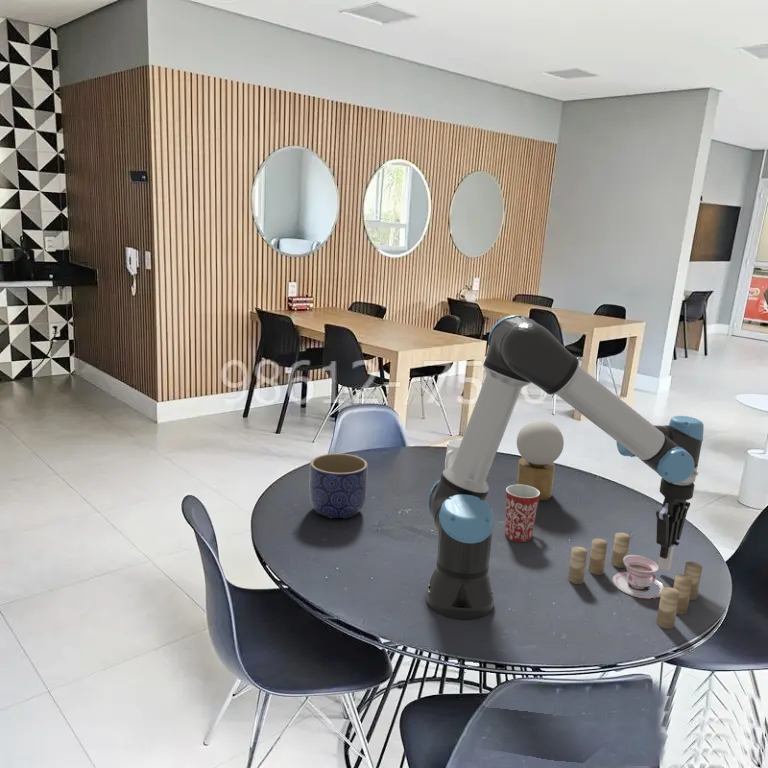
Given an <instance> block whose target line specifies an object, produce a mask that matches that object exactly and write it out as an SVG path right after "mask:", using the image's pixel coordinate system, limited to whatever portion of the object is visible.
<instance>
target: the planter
mask: <svg viewBox="0 0 768 768" xmlns="http://www.w3.org/2000/svg"><path fill="white" fill-rule="evenodd" d="M368 467H369V464H368V462H367V461H366V460H365V459H364V458H362V457H360V456H357V455H353V454H349V453H348V454H347V453H326V454H322V455H317V456H315V457H314V458H312V459H311V460H310V463H309V477H308V478H309V479H308V480H309V482H308V487H309V488H308V489H309V500H310V504H311V506H312V508H313V509H314V511H315V512H316V513H317V514H319V515H320V514H321V516H322V515H323V516H322V517H324V516H326V517H325V518H327V517H331V518H330V519H333V518H344V519H348V518H347V517H349V518H351V516H352V517H354V516H356V515H357V514H358V513H359V512H360V511H361V510H362V509H363V507H364V505H365V503H366V499H367V498H366V497H367V489H368V488H367V487H368V475H369V474H368V473H369V472H368V471H369V469H368Z"/></svg>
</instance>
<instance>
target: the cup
mask: <svg viewBox="0 0 768 768" xmlns="http://www.w3.org/2000/svg"><path fill="white" fill-rule="evenodd" d="M461 441H462V439H451V440H448V441H447V442H446V455H445V458H444V459H445V460H444V470H445V469H447V468H450V467H452V465H453V462H454V459H455V457H456V454H457V452H458V449H459V446H460V444H461Z"/></svg>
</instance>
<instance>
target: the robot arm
mask: <svg viewBox="0 0 768 768" xmlns="http://www.w3.org/2000/svg"><path fill="white" fill-rule="evenodd" d="M482 366H483V369H484V371H485V374H486V375H485V378H484V380H483V382H482V386H481V388H480V391H479V393H478V396H477V399H476V401H475V404H474V407H473V410H472V412H471V415H470V418H469V420H468V423H467V426H466V428H465V431H464V432H463V433H464V434H463V436H462V438H461V440H462V441H461V444H460V446H459V449H458V452H457V454H456V457H455V459H454V462H453V465H452V467H450V468H447V469H445V468H444V469H443V471H442V473H441V475H440V479H438V480H437V481H436V482H435V483H434V484H433V486H432V487H431V490H430V491H429V496H428V508H429V512H430V515H431V517H432V520H433V523H434V526H435V531H436V533H437V552H436V553H437V554H436V564H435V565H436V566H435V569H434V571H433V573H432V575H431V577H430V580H429V582H428V584H427V586H426V597H425V598H426V599H425V600H426V602H427V604H428V606H429V607H430V608H431V609H432V610H434V611H435V612H436V613H439V614H441V615H443V616H446V617H448V618H453V619H459V620H472V619H479V618H483V617H484V616H487V615H488V614H489V613H491V611H492V609H493V607H494V601H495V599H494V598H495V595H494V590H493V588H492V586H491V579H490V574H489V569H490V558H491V557H490V556H491V551H492V550H491V547H492V538H493V530H494V527H495V526H494V523H495V522H494V521H495V520H494V511H493V509H492V507H491V505H490V504H489V503H488V502H487V501H486V499H487V496H488V493H489V491H490V487H489V484H488V482H487V478H488V476H489V472H490V470H491V469H492V465H493V463H494V460H495V457H496V455H497V451H498V449H499V447H500V445H501V443H502V440H503V437H504V434H505V433H506V432H505V431H506V429H507V427H508V424H509V423H510V422H509V421H510V419H511V416H512V415H513V411H514V409H515V406H516V404H517V401H518V399H519V396H520V394H521V391H522V388H523V387H525V386H528V385H531V384H533V385H535V386H536V387H538V388H539V389H541V390H542V391H544V393H546V394H548V395H549V396H553V395H556V396H558V397H559V398H561V400H563V401H564V402H565V403H567V404H568V405H569V406H571V407H572V408H573V409H574V410H576V411H577V412H578V413H580V414H581V415H582V416H584V417H585V418H586V419H587V420H589V421H590V422H591V423H593V424H594V425H595V426H596V427H598V428H599V429H600V430H601V431H602V432H604V433H606V434H607V435H608V436H610V438H612V439H613V440H615V441H616V442H615V443H616V448H617V451H618V452H619V454H620V455H621V456H624V457H630V458H634V457H636V458H638V459H639V460H640V461H641V462H642V463H644V464H645V465H647V466H648V467H649V468H650V469H652V470H653V471H654V472H655V473H656V474H658V475H659V476H660V478H661V479H660V484H659V492H660V494H661V495H662V496H663V497H664V499H663V502H662V506H661V507H662V509H661V510H656V512H655V517H656V539H655V540H656V544H657V545H660V547H659V552H658V554H659V555H658V559H657V565H658V567H659V569H661V570H662V571H663V570H664V571H666V572H668V571H670V570H671V568H672V563H673V556H674V551H675V550H674V548H675V546H677V547H678V546H679V545H680V542H678V541H680V539H681V536H682V532H683V528H684V525H685V521H686V517H687V514H688V511H689V509H690V506H691V502H689V500H691V499H692V498H694V497H693V496H694V490H695V487H696V486H695V482H696V479H697V476H699V472H698V465H699V460H700V455H701V450H702V443H703V441H704V428H705V427H704V422H703V421H701V420H700V419H698V418H695V417H692V416H686V415H685V416H684V415H677V416H676V415H675V416H672V417H671V418H670V421H669V423H668V424H667V425H654V424H652V423H651V422H649V420H647V419H646V418H645V417H644V416H642V415H641V414H640V413H638V412H637V411H636V410H635V409H633V408H632V407H631V406H630V405H629V404H627V403H626V402H625V401H623V400H622V399H621V398H620V397H618V396H617V395H616V394H615V393H613V392H612V391H611V390H610V389H608V387H606V386H605V385H603V383H601V382H600V381H599V380H597V379H596V378H595V377H594V376H592V375H591V374H590V373H588V372H587V371H586V370H585V369H583V368H582V367H581V366H580V359H579V358H578V357H576V356H575V355H573V354H572V353H571V352H570V351H569V350H568V349H567V348H566V347H565V346H564V345H563V344H562V343H561V342H560V341H559V340H558V339H557V338H556V337H555V335H554V334H553V333H551V331H549V330H548V329H547V328H546V327H544V326H543V325H541V324H539V323H537V321H535V320H534V319H532V318H529V317H528V316H523V315H519V314H517V315H516V314H514V315H513V314H511V315H508V316H506V317H503V318H500V319H499V320H498V321H496V323H495V324H494V325H493V326H492V328H491V330H490V332H489V335H488V351H487V353H486V357H485V359H484V362H483V365H482Z"/></svg>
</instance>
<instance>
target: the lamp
mask: <svg viewBox="0 0 768 768" xmlns="http://www.w3.org/2000/svg"><path fill="white" fill-rule="evenodd" d="M564 443H565V442H564V436H563V434H562V432H561V430H560V428H559V427H558V426H557V425H555V424H554V423H553V422H551V421H550V420H549V421H548V420H545V419H535V420H530V421H529V422H526V424H523V426H522V427H521V428H520V429H519V431H518V433H517V436H516V448H517V451H518V454H520V456H521V458H519V460H518V465H517V474H516V475H517V476H516V484H515V485H517V484H520V485H527V486H531V487H534V488H536V489H537V490H539V492H540V495H539V502H540V501H546V500H550V499H551V498H552V494H553V486H554V480H555V479H554V478H555V469H556V464H555V463H554V462H556V460H558V459H559V457H560V456H561V454H562V452H563V451H564V450H563V449H564Z"/></svg>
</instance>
